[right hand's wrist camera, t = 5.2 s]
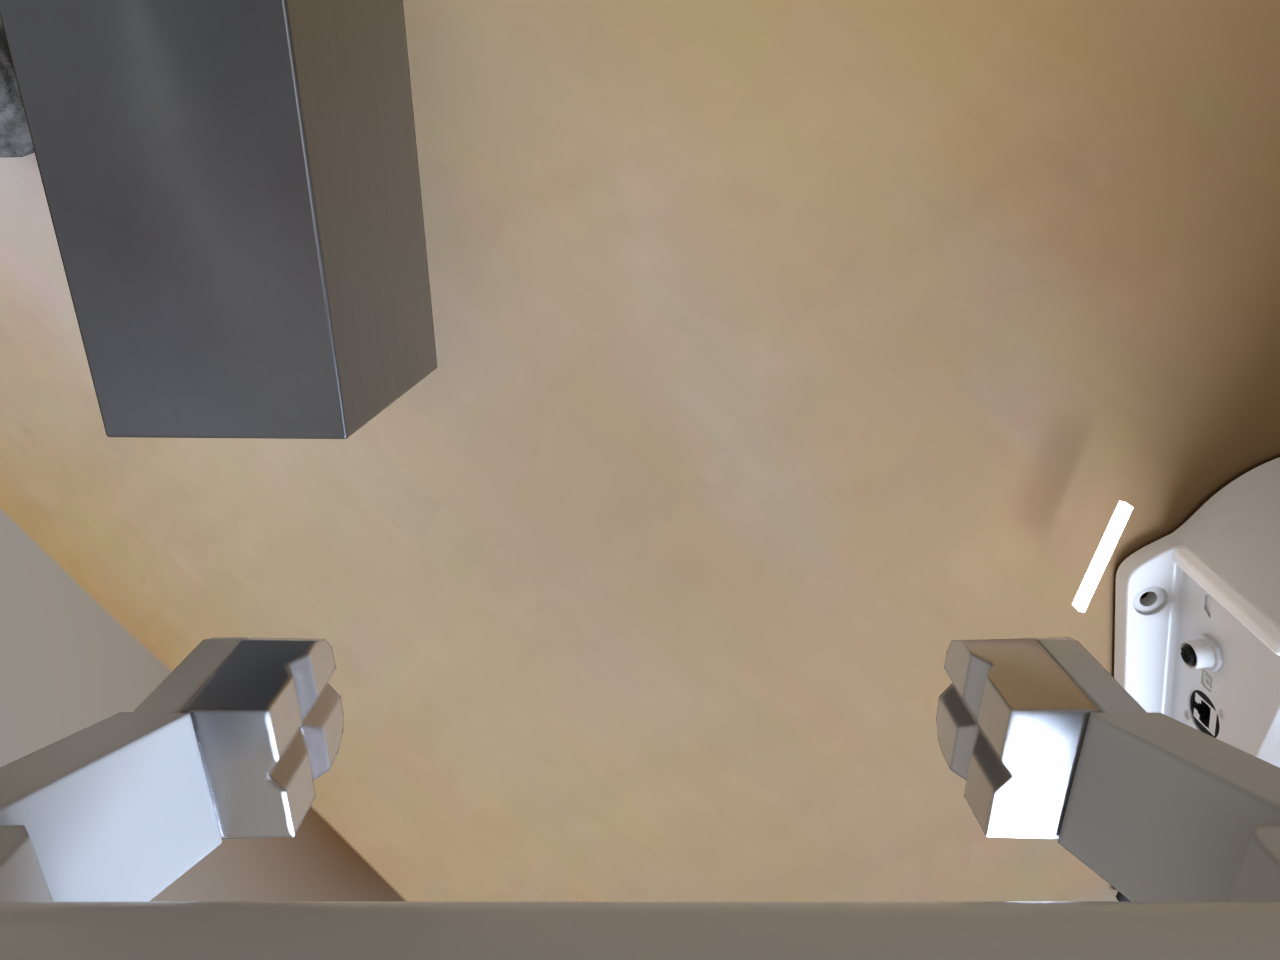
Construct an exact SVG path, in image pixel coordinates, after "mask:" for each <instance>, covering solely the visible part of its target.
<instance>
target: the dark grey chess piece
mask: <svg viewBox="0 0 1280 960" xmlns="http://www.w3.org/2000/svg"><path fill="white" fill-rule="evenodd" d="M34 152H35V151H34V147H33V143H32V140H31V136H30V132H29V128H28V124H27V120H26V116H25V112H24V108H23V104H22V100H21V96H20V92H19V88H18V84H17V80H16V77H15V73H14V69H13V65H12V61H11V57H10V53H9V49H8V45H7V41H6V37H5V33H4V29H3V25H2V21H1V17H0V157H23V156H26V155H29V154H31V153H34Z"/></svg>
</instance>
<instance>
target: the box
mask: <svg viewBox="0 0 1280 960" xmlns="http://www.w3.org/2000/svg"><path fill="white" fill-rule="evenodd" d="M0 17H1V21H2V25H3V29H4V33H5V37H6V41H7V45H8V49H9V53H10V57H11V61H12V65H13V69H14V73H15V77H16V80H17V84H18V88H19V92H20V96H21V100H22V104H23V108H24V112H25V116H26V120H27V124H28V128H29V132H30V136H31V140H32V143H33V147H34V151H35V155H36V159H37V163H38V167H39V171H40V175H41V179H42V183H43V187H44V191H45V195H46V199H47V203H48V206H49V210H50V214H51V218H52V222H53V226H54V230H55V234H56V238H57V242H58V246H59V250H60V254H61V258H62V262H63V266H64V269H65V273H66V277H67V281H68V285H69V289H70V293H71V297H72V301H73V305H74V309H75V313H76V317H77V321H78V325H79V329H80V332H81V336H82V340H83V344H84V348H85V352H86V356H87V360H88V364H89V368H90V372H91V376H92V380H93V384H94V388H95V392H96V396H97V399H98V403H99V407H100V411H101V415H102V419H103V423H104V427H105V431H106V435H107V436H108V437H167V438H292V439H346V438H348V437H349V436H350V435H352V434H353V433H354V432H356V431H357V430H358V429H359V428H361V427H362V426H363V425H365V424H366V423H367V422H368V421H370V420H371V419H372V418H373V417H375V416H376V415H377V414H379V413H380V412H381V411H382V410H384V409H385V408H386V407H388V406H389V405H390V404H391V403H393V402H394V401H395V400H396V399H398V398H399V397H400V396H402V395H403V394H404V393H405V392H407V391H408V390H409V389H411V388H412V387H413V386H414V385H416V384H417V383H418V382H419V381H421V380H422V379H423V378H425V377H426V376H427V375H428V374H430V373H431V372H432V371H434V370H435V369H436V368H437V359H436V348H435V338H434V327H433V317H432V306H431V295H430V285H429V274H428V263H427V253H426V242H425V232H424V221H423V210H422V200H421V189H420V179H419V168H418V157H417V147H416V136H415V125H414V115H413V104H412V94H411V83H410V72H409V62H408V51H407V40H406V30H405V19H404V9H403V0H0Z"/></svg>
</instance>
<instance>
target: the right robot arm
mask: <svg viewBox="0 0 1280 960" xmlns="http://www.w3.org/2000/svg"><path fill="white" fill-rule="evenodd" d="M1133 508H1134V507H1132V506H1131V505H1129V504H1128V503H1126V502H1123V501H1119V502H1118V505H1117V507H1116V509H1115V511H1114V513H1113V516H1112V518H1111V520H1110V522H1109V524H1108V527H1107V529H1106V531H1105V533H1104V535H1103V537H1102V540H1101V542H1100V544H1099V546H1098V548H1097V551H1096V553H1095V555H1094V557H1093V559H1092V561H1091V564H1090V566H1089V568H1088V570H1087V572H1086V575H1085V577H1084V579H1083V581H1082V583H1081V586H1080V588H1079V590H1078V592H1077V594H1076V596H1075V599H1074V601H1073V603H1072V605H1073V606H1074V607H1075V608H1076V609H1077V610H1078V611H1080V612H1085V611H1086V608H1087V606H1088V604H1089V602H1090V600H1091V598H1092V596H1093V593H1094V591H1095V589H1096V587H1097V585H1098V583H1099V581H1100V578H1101V576H1102V574H1103V572H1104V570H1105V568H1106V566H1107V563H1108V561H1109V559H1110V557H1111V555H1112V553H1113V551H1114V548H1115V546H1116V544H1117V542H1118V540H1119V538H1120V536H1121V533H1122V531H1123V529H1124V527H1125V525H1126V523H1127V521H1128V518H1129V516H1130V514H1131V512H1132V510H1133ZM1146 592H1148V594H1147V596H1146V597H1144V598H1143V599H1140V597H1141V596H1142V595H1143V594H1144V593H1146ZM335 669H336V664H335V660H334V655H333V650H332V646H331V645H330V644H329V643H328V642H327V641H326V640H325V639H295V638H246V637H221V638H210V639H205V640H203V641H202V642H201V643H200V644H199V645H198V646H197V647H196V648H195V649H194V650H193V651H192V652H191V653H190V654H189V655H188V656H187V657H186V658H185V659H184V660H183V661H182V662H181V663H180V664H179V665H178V666H177V667H176V668H175V670H174V671H173V672H172V673H171V674H170V675H169V676H168V677H167V678H166V679H165V680H164V681H163V682H162V683H161V684H160V685H159V686H158V687H157V688H156V689H155V690H154V691H153V692H152V693H151V694H150V695H149V696H148V697H147V698H146V699H145V700H144V701H143V702H142V703H141V704H140V706H139V707H138V708H137V709H136V710H135V711H134V712H124V713H118V714H116V715H113V716H111V717H109V718H107V719H105V720H103V721H100V722H98V723H96V724H94V725H92V726H90V727H87V728H85V729H83V730H81V731H79V732H77V733H74V734H72V735H70V736H68V737H66V738H64V739H61V740H59V741H57V742H55V743H53V744H51V745H48V746H46V747H44V748H42V749H40V750H38V751H35V752H33V753H31V754H29V755H27V756H25V757H22V758H20V759H18V760H16V761H14V762H12V763H9V764H7V765H5V766H3V767H1V768H0V960H1280V457H1278V458H1276V459H1273V460H1271V461H1268V462H1266V463H1264V464H1262V465H1260V466H1258V467H1255V468H1254V469H1252V470H1250V471H1248V472H1246V473H1245V474H1243V475H1241V476H1240V477H1238V478H1236V479H1235V480H1233V481H1232V482H1230V483H1229V484H1228V485H1226V486H1225V487H1223V488H1222V489H1221V490H1220V491H1218V492H1217V493H1216V494H1214V495H1213V496H1212V497H1211V498H1210V499H1209V500H1208V501H1207V502H1205V503H1204V504H1203V505H1202V506H1201V507H1200V508H1199V509H1198V510H1197V511H1196V512H1195V513H1194V514H1193V515H1192V516H1191V517H1190V518H1189V519H1188V520H1187V521H1186V522H1185V523H1184V524H1183V525H1181V526H1180V527H1179V528H1178V529H1177V530H1175V531H1174V532H1173V533H1171V534H1169V535H1167V536H1165V537H1163V538H1161V539H1159V540H1157V541H1155V542H1153V543H1150V544H1148V545H1146V546H1145V547H1143V548H1141V549H1139V550H1137V551H1136V552H1134V553H1133V554H1131V555H1130V556H1129V557H1127V558H1126V559H1125V560H1124V561H1123V562H1122V563H1121V564H1120V566H1119V568H1118V570H1117V573H1116V587H1115V650H1114V678H1113V677H1112V676H1111V675H1110V674H1109V672H1108V671H1107V670H1106V669H1105V668H1104V667H1103V666H1102V665H1101V664H1100V663H1099V662H1098V661H1097V660H1096V659H1095V658H1094V657H1093V656H1092V655H1091V654H1090V653H1089V652H1088V651H1087V650H1086V649H1085V648H1084V647H1083V646H1082V645H1081V644H1080V643H1079V642H1078V641H1077V640H1074V639H1072V638H1069V637H1049V638H1029V639H990V640H952V641H951V644H950V646H949V648H948V650H947V653H946V658H945V664H944V669H945V671H946V672H947V674H948V675H949V677H950V679H951V680H952V682H953V683H952V684H951V685H950V686H949V687H948V688H947V689H946V690H945V691H944V692H943V693H942V694H941V695H940V696H939V701H938V709H937V717H936V721H937V732H938V740H939V744H940V747H941V750H942V754H943V756H944V758H945V760H946V762H947V764H948V766H949V768H950V770H952V771H953V772H954V773H956V774H957V775H959V776H960V777H962V778H963V779H965V780H966V781H967V782H966V788H965V793H964V796H965V798H966V800H967V802H968V804H969V806H970V808H971V809H972V811H973V813H974V815H975V817H976V819H977V821H978V822H979V824H980V826H981V828H982V830H983V832H984V833H985V835H986V837H1002V838H1038V839H1058V843H1059V844H1060V845H1062V846H1063V847H1064V848H1065V849H1067V850H1068V851H1069V852H1070V853H1072V854H1073V855H1074V856H1075V857H1077V858H1078V859H1079V860H1080V861H1082V862H1083V863H1084V864H1085V865H1087V866H1088V867H1089V868H1090V869H1092V870H1093V871H1094V872H1095V873H1097V874H1098V875H1099V876H1100V877H1102V878H1103V879H1104V880H1105V881H1107V882H1108V883H1109V884H1110V885H1112V886H1113V887H1114V888H1115V889H1116V890H1118V893H1117V895H1116V898H1117V900H1118V901H1119V902H149V901H150V900H151V899H153V898H154V897H155V896H156V895H158V894H159V893H160V892H161V891H162V890H164V889H165V888H166V887H167V886H169V885H170V884H171V883H172V882H174V881H175V880H176V879H177V878H179V877H180V876H181V875H182V874H184V873H185V872H186V871H187V870H189V869H190V868H191V867H192V866H194V865H195V864H196V863H197V862H199V861H200V860H201V859H202V858H204V857H205V856H206V855H207V854H209V853H210V852H211V851H212V850H214V849H215V848H216V847H217V846H219V845H220V844H221V843H222V839H241V838H275V837H294V835H295V834H296V832H297V830H298V828H299V826H300V824H301V822H302V821H303V819H304V817H305V815H306V813H307V811H308V809H309V808H310V806H311V804H312V802H313V800H314V798H315V796H316V793H315V788H314V782H313V781H314V780H315V779H317V778H318V777H320V776H321V775H323V774H324V773H326V772H327V771H328V770H330V768H331V766H332V764H333V762H334V760H335V758H336V756H337V754H338V751H339V747H340V742H341V738H342V733H343V707H342V700H341V696H340V695H339V694H338V693H337V692H336V691H335V690H334V689H333V688H332V687H331V686H330V685H329V684H328V683H327V682H328V680H329V679H330V677H331V675H332V674H333V672H334V671H335Z"/></svg>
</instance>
